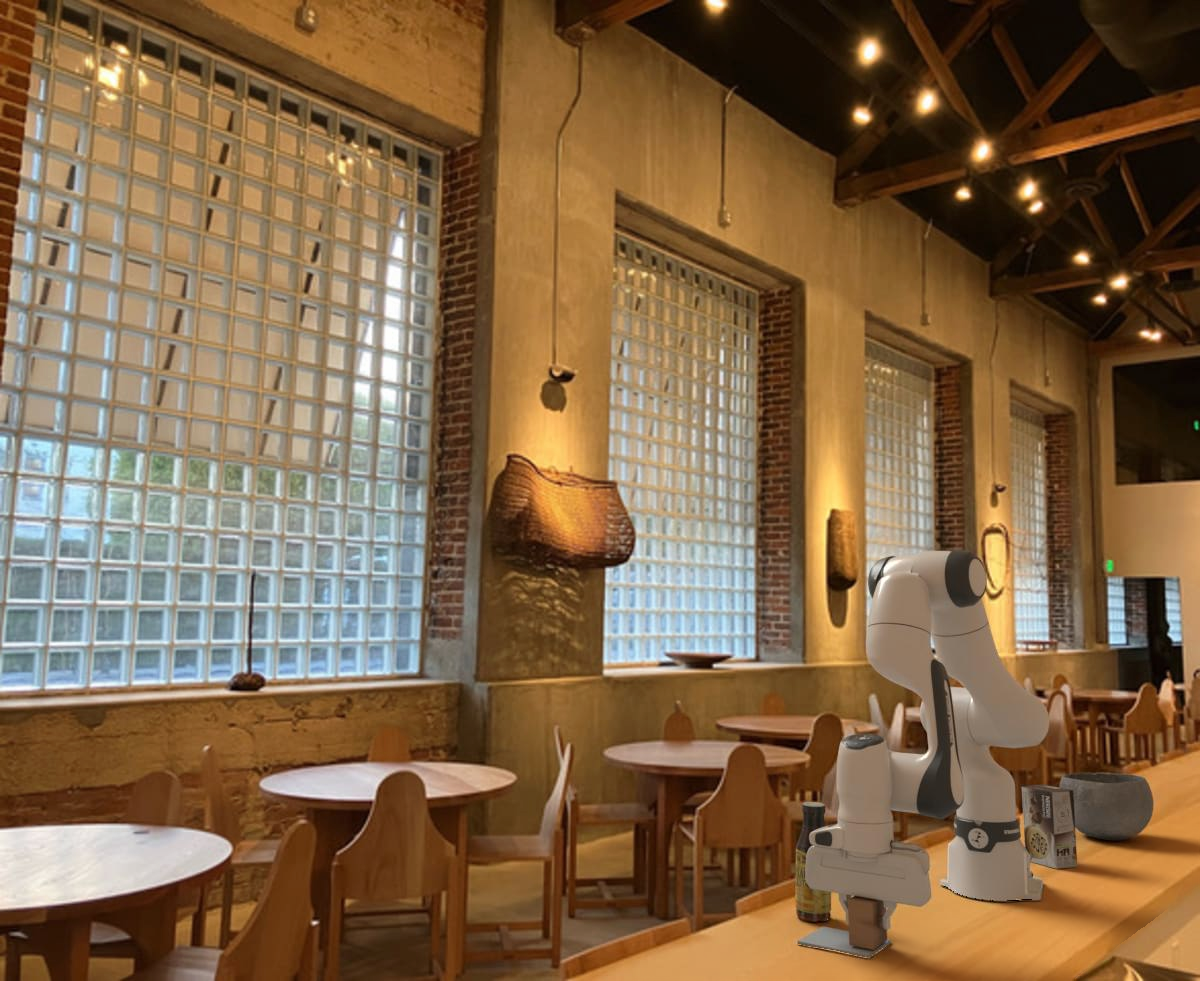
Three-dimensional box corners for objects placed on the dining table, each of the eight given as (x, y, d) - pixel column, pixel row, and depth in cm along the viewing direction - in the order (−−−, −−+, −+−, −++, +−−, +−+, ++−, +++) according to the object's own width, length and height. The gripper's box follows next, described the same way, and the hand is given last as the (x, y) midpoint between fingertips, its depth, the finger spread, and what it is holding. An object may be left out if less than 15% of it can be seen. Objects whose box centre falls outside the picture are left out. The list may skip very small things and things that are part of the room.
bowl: (1134, 830, 260) (1131, 769, 262) (1171, 848, 240) (1167, 782, 242) (1049, 828, 262) (1047, 768, 264) (1078, 846, 242) (1075, 780, 244)
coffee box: (1079, 867, 222) (1075, 789, 224) (1055, 869, 219) (1052, 791, 221) (1046, 857, 230) (1042, 783, 232) (1023, 860, 228) (1020, 785, 230)
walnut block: (863, 935, 170) (862, 891, 171) (887, 940, 168) (885, 895, 169) (849, 944, 165) (848, 899, 166) (873, 949, 163) (872, 903, 164)
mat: (822, 930, 176) (822, 926, 176) (891, 943, 169) (891, 939, 169) (797, 944, 168) (797, 941, 168) (868, 959, 161) (868, 955, 161)
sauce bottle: (789, 915, 185) (787, 801, 187) (819, 912, 187) (816, 799, 189) (808, 925, 179) (806, 807, 181) (839, 922, 181) (837, 805, 183)
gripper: (935, 842, 165) (938, 932, 163) (816, 826, 177) (817, 910, 175) (922, 849, 160) (925, 942, 158) (800, 832, 172) (801, 919, 170)
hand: (867, 925), depth 167 cm, fingers closed on walnut block, 4 cm apart
